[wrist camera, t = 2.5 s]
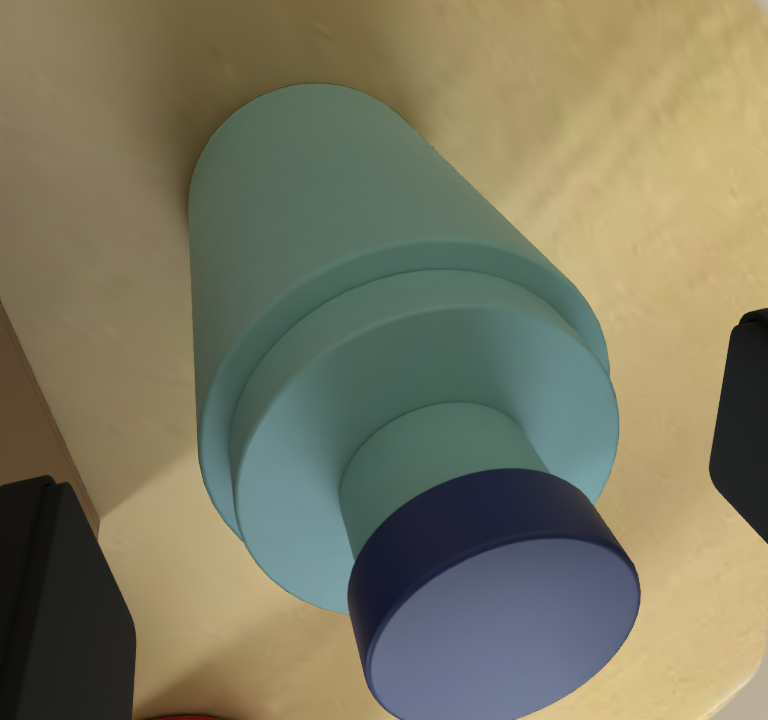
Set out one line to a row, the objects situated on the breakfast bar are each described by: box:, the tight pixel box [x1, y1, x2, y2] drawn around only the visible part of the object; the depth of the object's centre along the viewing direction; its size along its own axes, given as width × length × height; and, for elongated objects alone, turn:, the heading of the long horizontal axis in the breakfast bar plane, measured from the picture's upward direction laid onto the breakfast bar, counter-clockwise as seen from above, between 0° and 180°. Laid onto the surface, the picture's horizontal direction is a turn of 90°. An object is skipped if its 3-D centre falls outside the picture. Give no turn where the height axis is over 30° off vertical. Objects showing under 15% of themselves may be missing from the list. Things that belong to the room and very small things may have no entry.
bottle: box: [188, 83, 641, 720], centre depth 13 cm, size 6×6×12 cm
